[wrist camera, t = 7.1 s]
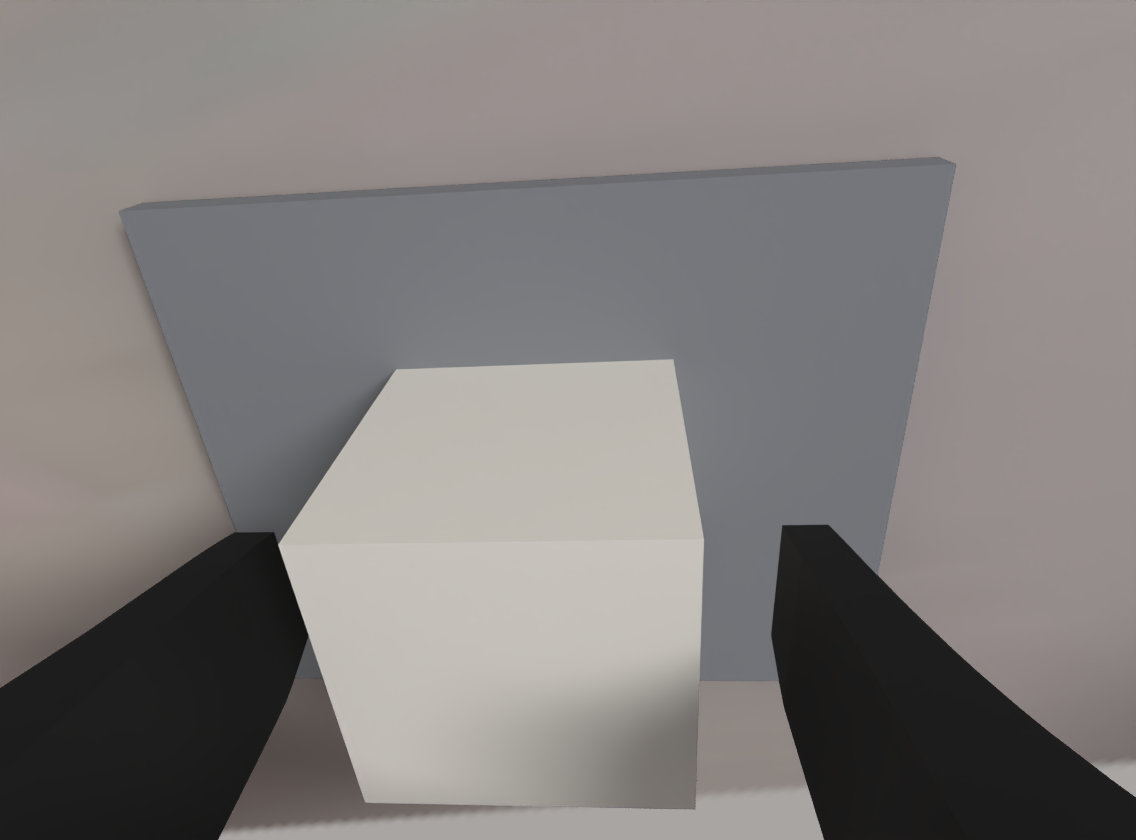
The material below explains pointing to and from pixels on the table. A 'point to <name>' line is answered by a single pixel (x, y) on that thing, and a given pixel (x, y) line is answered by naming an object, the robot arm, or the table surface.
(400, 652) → the cream cube
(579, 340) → the gray mat
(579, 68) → the table surface
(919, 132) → the table surface
